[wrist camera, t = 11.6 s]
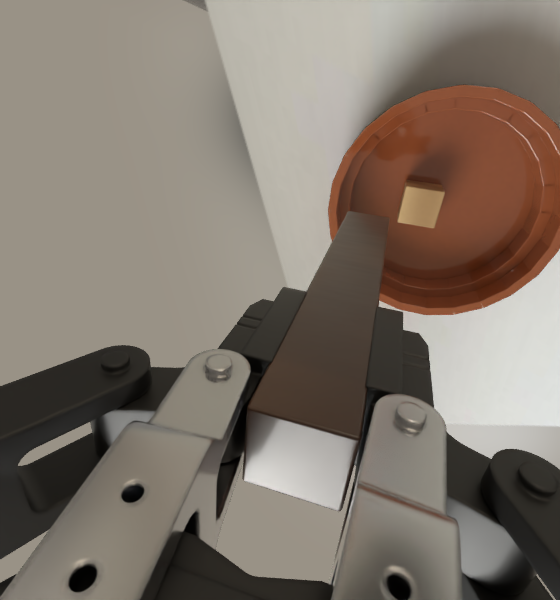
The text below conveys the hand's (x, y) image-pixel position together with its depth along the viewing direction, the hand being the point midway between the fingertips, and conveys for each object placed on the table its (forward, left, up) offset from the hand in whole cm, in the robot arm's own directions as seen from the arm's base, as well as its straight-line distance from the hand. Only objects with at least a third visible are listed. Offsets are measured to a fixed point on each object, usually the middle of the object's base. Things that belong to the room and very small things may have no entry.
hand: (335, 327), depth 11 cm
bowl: (+5, -1, -27) cm, 27 cm away
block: (+4, -1, -26) cm, 27 cm away
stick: (0, 0, -9) cm, 9 cm away
